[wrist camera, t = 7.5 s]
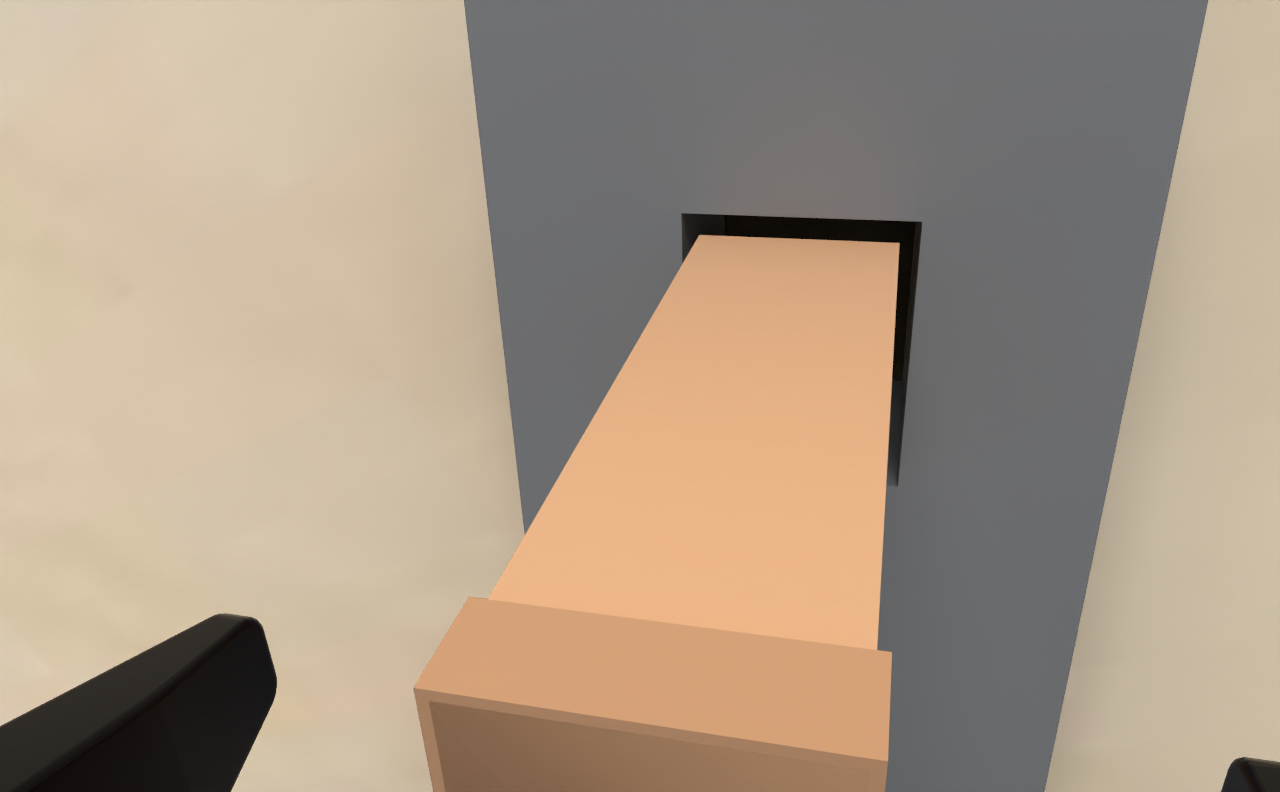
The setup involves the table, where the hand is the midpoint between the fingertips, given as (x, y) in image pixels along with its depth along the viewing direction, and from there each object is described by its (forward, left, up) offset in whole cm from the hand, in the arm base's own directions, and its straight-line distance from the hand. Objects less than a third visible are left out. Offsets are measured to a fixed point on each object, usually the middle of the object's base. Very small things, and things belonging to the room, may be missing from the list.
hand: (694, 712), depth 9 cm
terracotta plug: (0, 0, -8) cm, 8 cm away
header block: (-6, 0, -12) cm, 14 cm away
